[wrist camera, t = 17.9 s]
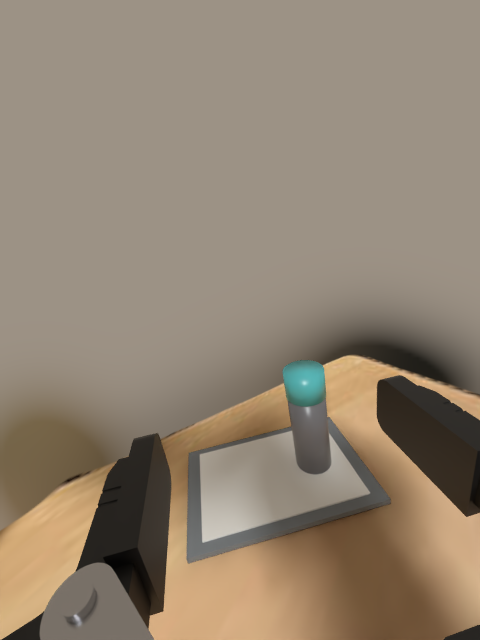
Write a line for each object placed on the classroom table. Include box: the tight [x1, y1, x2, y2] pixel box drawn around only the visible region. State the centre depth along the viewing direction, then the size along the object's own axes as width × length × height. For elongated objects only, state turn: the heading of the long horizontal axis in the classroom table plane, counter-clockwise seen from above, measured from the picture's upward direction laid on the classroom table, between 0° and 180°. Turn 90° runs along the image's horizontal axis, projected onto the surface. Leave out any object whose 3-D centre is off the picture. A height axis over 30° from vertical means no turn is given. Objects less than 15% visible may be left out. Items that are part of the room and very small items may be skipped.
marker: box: [283, 360, 331, 474], centre depth 31 cm, size 4×4×12 cm
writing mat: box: [187, 417, 391, 563], centre depth 32 cm, size 20×13×1 cm, turn 99°
